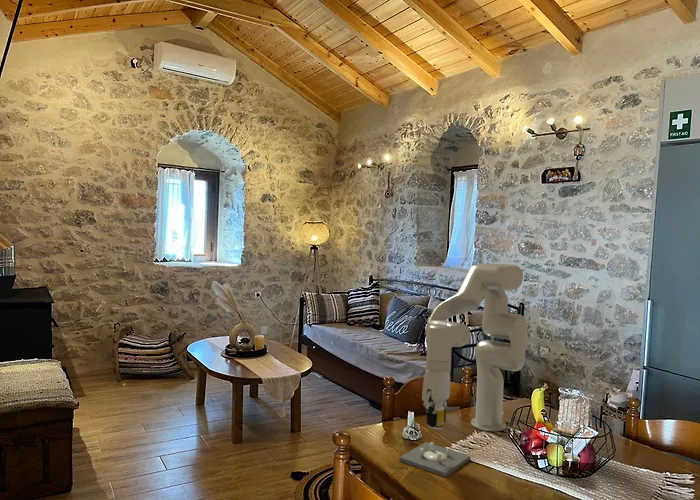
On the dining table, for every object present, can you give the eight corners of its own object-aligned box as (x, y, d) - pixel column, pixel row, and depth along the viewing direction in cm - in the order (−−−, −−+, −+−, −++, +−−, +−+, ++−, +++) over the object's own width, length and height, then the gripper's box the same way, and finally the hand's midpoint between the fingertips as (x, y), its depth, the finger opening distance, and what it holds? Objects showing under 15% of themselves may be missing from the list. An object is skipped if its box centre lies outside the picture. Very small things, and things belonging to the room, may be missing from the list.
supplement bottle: (444, 425, 167) (446, 399, 167) (442, 430, 162) (443, 403, 162) (429, 423, 168) (430, 397, 168) (426, 428, 164) (427, 401, 164)
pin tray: (425, 445, 177) (426, 434, 177) (470, 459, 167) (470, 447, 167) (399, 461, 165) (399, 449, 164) (445, 477, 155) (446, 464, 155)
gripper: (440, 358, 174) (438, 413, 174) (413, 367, 160) (411, 427, 161) (462, 362, 169) (459, 419, 170) (435, 372, 156) (433, 433, 156)
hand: (436, 422), depth 165 cm, fingers closed on supplement bottle, 4 cm apart
